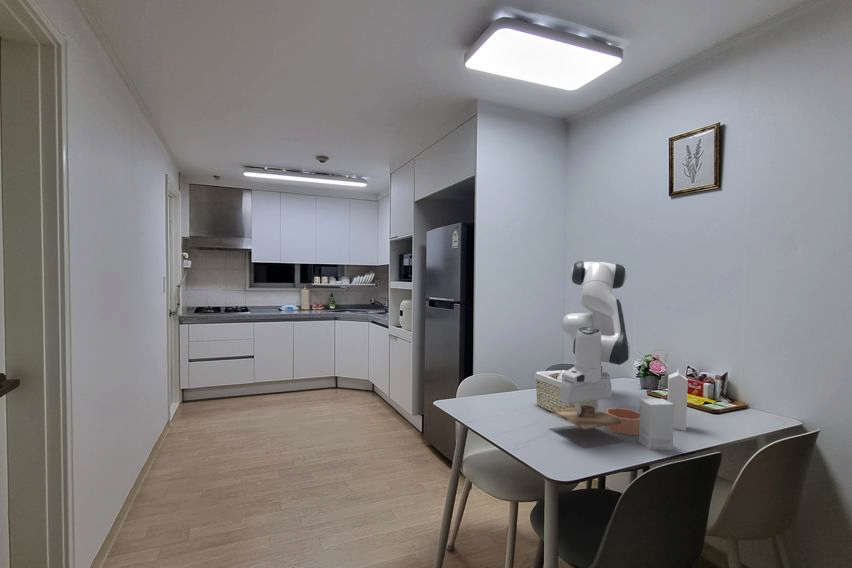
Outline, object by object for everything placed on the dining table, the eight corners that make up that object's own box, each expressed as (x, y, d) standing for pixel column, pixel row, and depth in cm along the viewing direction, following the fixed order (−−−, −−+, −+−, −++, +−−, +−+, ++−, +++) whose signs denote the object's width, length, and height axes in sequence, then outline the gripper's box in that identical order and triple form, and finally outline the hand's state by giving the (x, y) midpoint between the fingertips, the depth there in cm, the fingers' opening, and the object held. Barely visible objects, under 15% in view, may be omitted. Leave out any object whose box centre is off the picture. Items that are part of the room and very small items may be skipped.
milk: (667, 428, 157) (669, 370, 157) (666, 423, 163) (668, 367, 162) (686, 431, 155) (688, 372, 154) (684, 426, 160) (686, 368, 160)
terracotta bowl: (596, 425, 158) (597, 409, 158) (622, 421, 163) (623, 406, 163) (625, 438, 146) (625, 421, 146) (652, 434, 151) (652, 417, 151)
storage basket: (532, 404, 183) (533, 370, 183) (563, 401, 188) (564, 369, 188) (568, 422, 160) (569, 384, 160) (602, 419, 166) (603, 382, 166)
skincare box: (661, 443, 142) (663, 398, 142) (673, 451, 135) (675, 404, 135) (637, 443, 142) (639, 397, 141) (648, 451, 135) (650, 403, 135)
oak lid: (552, 413, 151) (552, 402, 151) (587, 408, 157) (587, 398, 157) (584, 429, 136) (584, 417, 136) (621, 423, 142) (621, 412, 142)
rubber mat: (548, 430, 151) (548, 428, 151) (586, 425, 158) (587, 423, 158) (583, 450, 135) (583, 448, 135) (625, 443, 141) (625, 441, 141)
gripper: (603, 369, 153) (601, 406, 153) (558, 373, 145) (556, 412, 146) (617, 373, 147) (615, 412, 148) (570, 378, 140) (569, 419, 140)
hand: (585, 412), depth 147 cm, fingers closed on oak lid, 4 cm apart
